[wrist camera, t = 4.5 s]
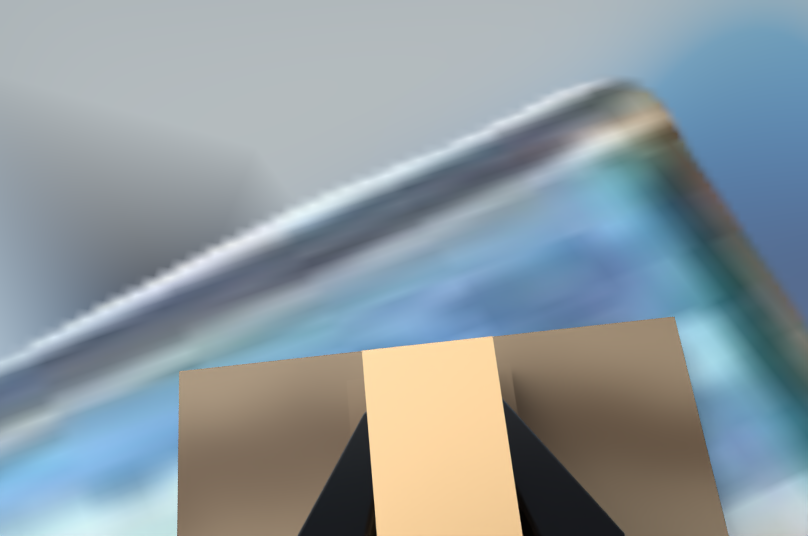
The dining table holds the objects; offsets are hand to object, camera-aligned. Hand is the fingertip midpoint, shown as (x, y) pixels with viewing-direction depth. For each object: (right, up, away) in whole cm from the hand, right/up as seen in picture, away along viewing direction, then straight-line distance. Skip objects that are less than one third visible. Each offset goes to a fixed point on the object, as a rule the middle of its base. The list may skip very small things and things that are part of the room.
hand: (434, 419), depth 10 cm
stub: (0, -2, +2) cm, 3 cm away
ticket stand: (+1, -3, +8) cm, 9 cm away
